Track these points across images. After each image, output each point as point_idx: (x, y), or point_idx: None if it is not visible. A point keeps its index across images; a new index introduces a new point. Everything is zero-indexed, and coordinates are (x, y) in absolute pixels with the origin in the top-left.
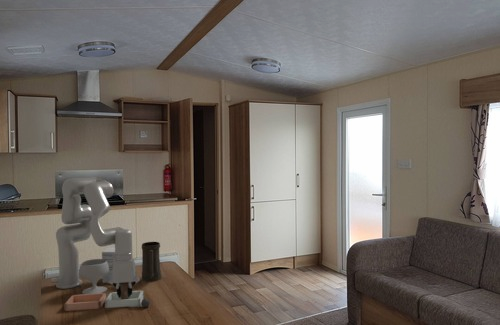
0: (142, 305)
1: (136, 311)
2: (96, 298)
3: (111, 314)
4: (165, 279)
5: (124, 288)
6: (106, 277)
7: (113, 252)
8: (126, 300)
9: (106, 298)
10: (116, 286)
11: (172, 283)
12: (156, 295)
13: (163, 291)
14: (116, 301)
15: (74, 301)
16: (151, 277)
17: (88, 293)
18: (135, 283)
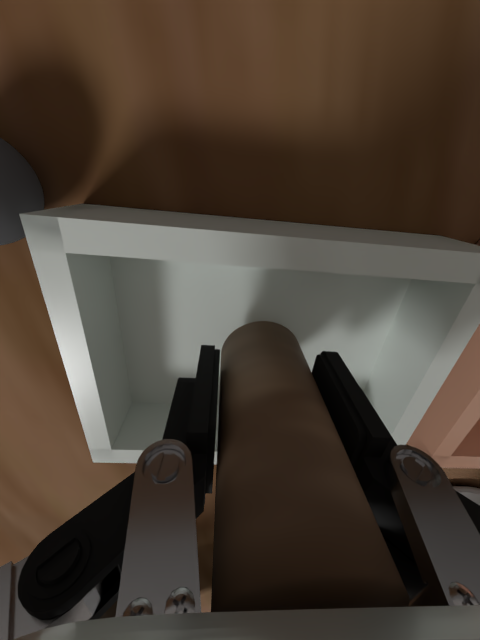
0: (19, 153)
1: (81, 26)
2: (476, 425)
3: (413, 16)
4: None
5: (283, 437)
6: None
7: None
8: (232, 230)
9: None
10: (451, 495)
11: (2, 546)
12: (26, 424)
13: (3, 471)
14: (367, 241)
15: None
16: (116, 603)
17: (476, 501)
18: (45, 549)
